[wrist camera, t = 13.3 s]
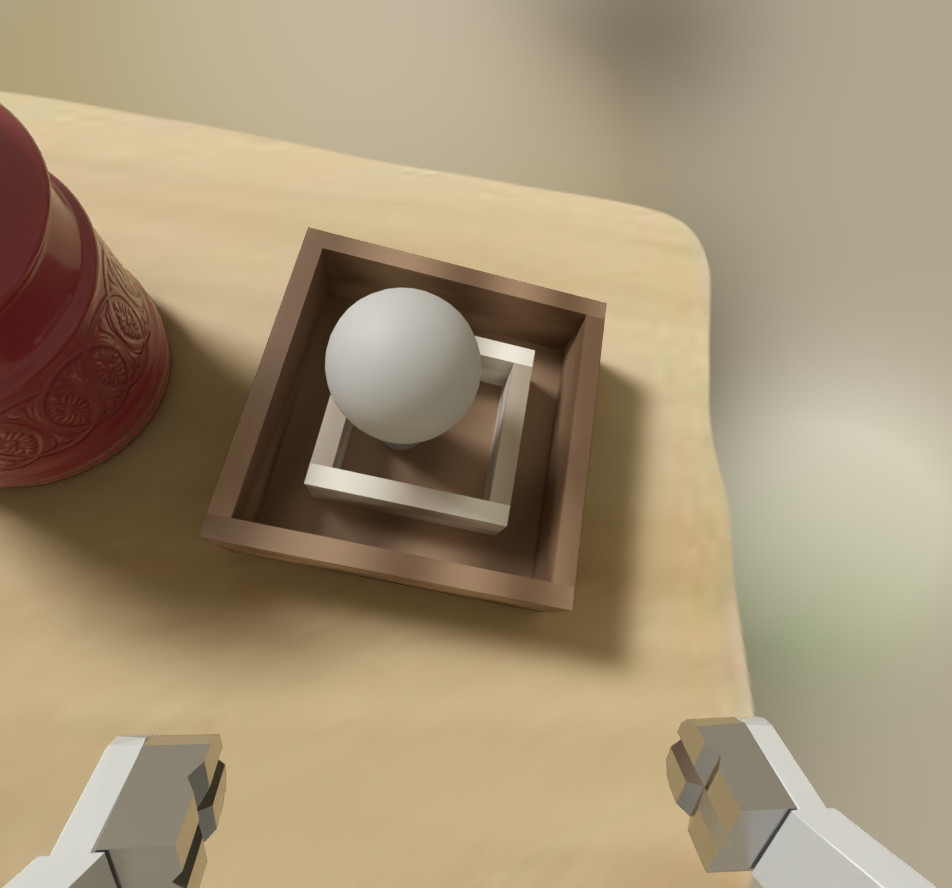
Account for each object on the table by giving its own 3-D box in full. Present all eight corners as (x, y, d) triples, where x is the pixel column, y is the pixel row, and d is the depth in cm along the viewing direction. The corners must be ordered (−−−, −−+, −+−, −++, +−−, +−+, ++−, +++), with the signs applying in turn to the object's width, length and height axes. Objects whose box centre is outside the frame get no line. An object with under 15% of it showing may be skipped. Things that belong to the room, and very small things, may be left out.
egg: (320, 454, 28) (278, 356, 17) (378, 362, 30) (372, 226, 19) (425, 508, 28) (445, 442, 17) (476, 412, 30) (521, 302, 19)
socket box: (231, 551, 26) (198, 536, 22) (319, 285, 32) (308, 227, 27) (540, 611, 28) (572, 610, 23) (575, 347, 33) (606, 303, 29)
